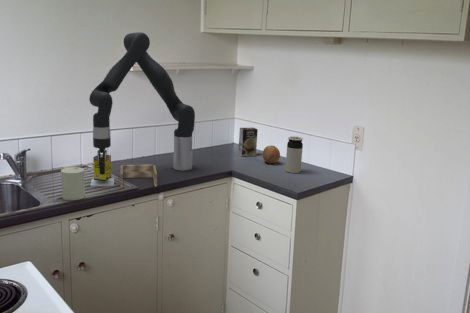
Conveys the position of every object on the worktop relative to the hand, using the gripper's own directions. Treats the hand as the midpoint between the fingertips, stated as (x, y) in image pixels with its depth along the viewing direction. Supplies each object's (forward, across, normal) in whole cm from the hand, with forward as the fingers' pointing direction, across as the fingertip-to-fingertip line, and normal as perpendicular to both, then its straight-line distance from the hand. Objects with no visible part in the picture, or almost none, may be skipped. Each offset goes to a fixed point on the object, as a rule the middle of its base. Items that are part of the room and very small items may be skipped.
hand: (102, 171), depth 219 cm
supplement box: (+4, 0, 0) cm, 4 cm away
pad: (+5, 0, 0) cm, 5 cm away
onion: (+6, +30, -89) cm, 94 cm away
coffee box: (+6, +48, -80) cm, 93 cm away
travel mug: (+6, +13, -96) cm, 97 cm away
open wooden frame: (+5, 0, -16) cm, 17 cm away
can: (+5, -18, +11) cm, 22 cm away
